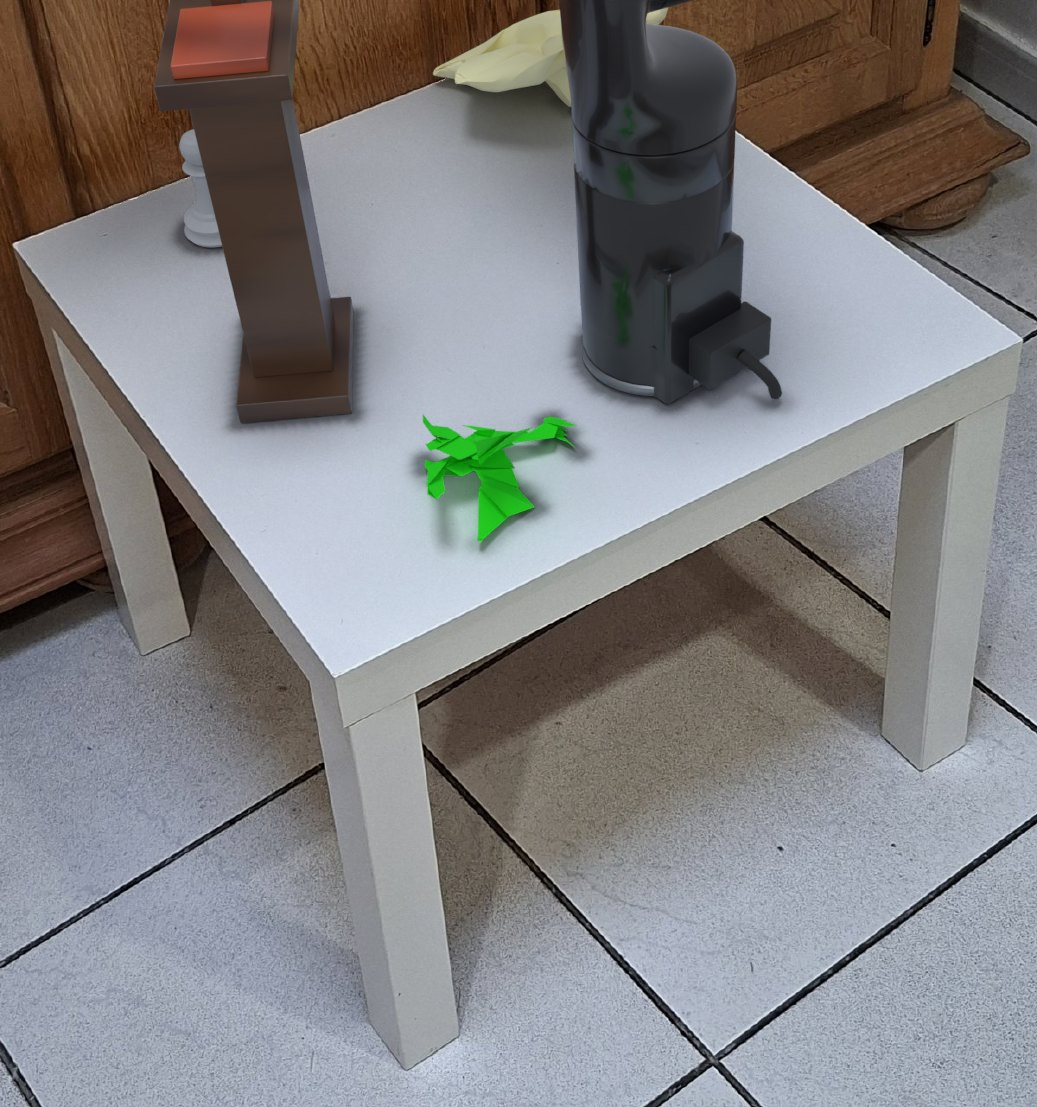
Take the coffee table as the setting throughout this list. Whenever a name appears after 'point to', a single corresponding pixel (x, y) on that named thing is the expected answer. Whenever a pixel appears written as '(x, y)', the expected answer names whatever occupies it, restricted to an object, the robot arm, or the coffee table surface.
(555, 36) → the cloth
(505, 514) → the figurine
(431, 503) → the coffee table surface
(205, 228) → the chess piece
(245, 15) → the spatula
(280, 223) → the wooden pedestal stand
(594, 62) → the robot arm
